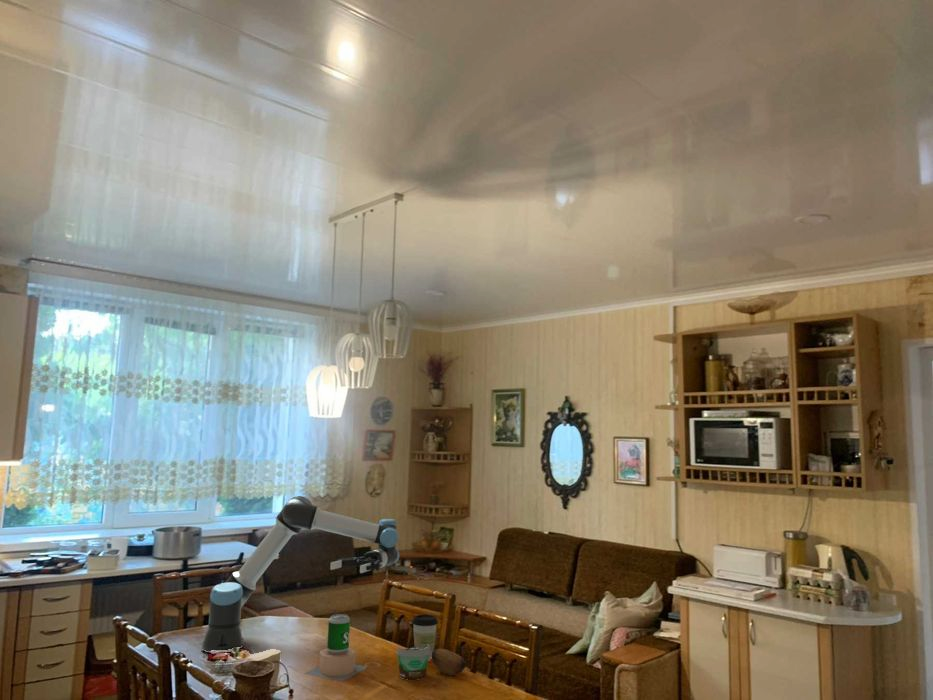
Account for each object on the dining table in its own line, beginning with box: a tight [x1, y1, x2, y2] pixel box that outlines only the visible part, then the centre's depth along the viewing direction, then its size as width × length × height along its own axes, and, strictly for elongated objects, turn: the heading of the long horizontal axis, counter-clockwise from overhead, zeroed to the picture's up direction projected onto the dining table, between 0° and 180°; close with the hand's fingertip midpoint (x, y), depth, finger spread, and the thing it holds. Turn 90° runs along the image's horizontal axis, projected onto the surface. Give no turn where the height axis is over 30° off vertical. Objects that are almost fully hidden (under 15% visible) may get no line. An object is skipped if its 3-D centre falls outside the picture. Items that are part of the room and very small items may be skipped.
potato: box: [431, 647, 466, 676], centre depth 231 cm, size 8×13×8 cm
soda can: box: [326, 613, 351, 654], centre depth 230 cm, size 8×8×12 cm
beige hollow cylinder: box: [318, 647, 356, 676], centre depth 229 cm, size 12×12×6 cm
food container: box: [395, 644, 430, 681], centre depth 225 cm, size 12×6×10 cm, turn 118°
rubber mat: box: [303, 663, 369, 682], centre depth 228 cm, size 16×16×1 cm
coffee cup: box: [411, 614, 439, 662], centre depth 246 cm, size 10×10×15 cm
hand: (345, 567), depth 253 cm, fingers open, 13 cm apart
